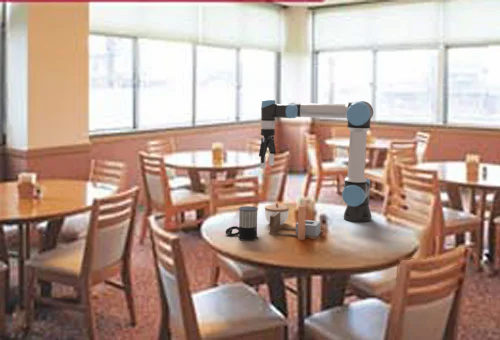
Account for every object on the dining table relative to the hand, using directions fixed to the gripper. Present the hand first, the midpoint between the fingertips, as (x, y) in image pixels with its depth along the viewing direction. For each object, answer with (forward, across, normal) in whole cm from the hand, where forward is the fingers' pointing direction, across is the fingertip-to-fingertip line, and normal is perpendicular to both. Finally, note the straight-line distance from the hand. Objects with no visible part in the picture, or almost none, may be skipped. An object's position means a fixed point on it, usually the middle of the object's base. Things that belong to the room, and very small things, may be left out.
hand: (267, 167), depth 334 cm
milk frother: (+28, +46, +4) cm, 54 cm away
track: (+28, +29, +26) cm, 48 cm away
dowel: (+28, +38, +32) cm, 57 cm away
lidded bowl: (+28, +14, +11) cm, 33 cm away
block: (+28, +29, +32) cm, 51 cm away
